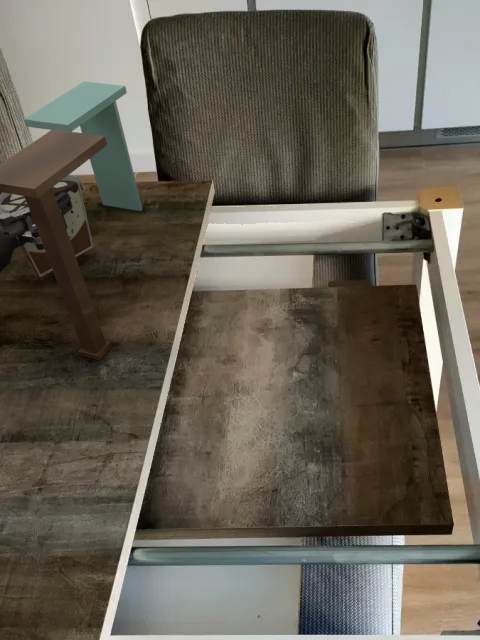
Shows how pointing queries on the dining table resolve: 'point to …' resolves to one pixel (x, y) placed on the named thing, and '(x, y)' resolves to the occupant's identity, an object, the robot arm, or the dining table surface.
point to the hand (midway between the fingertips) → (44, 195)
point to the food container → (73, 218)
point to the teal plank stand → (97, 119)
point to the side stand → (58, 219)
